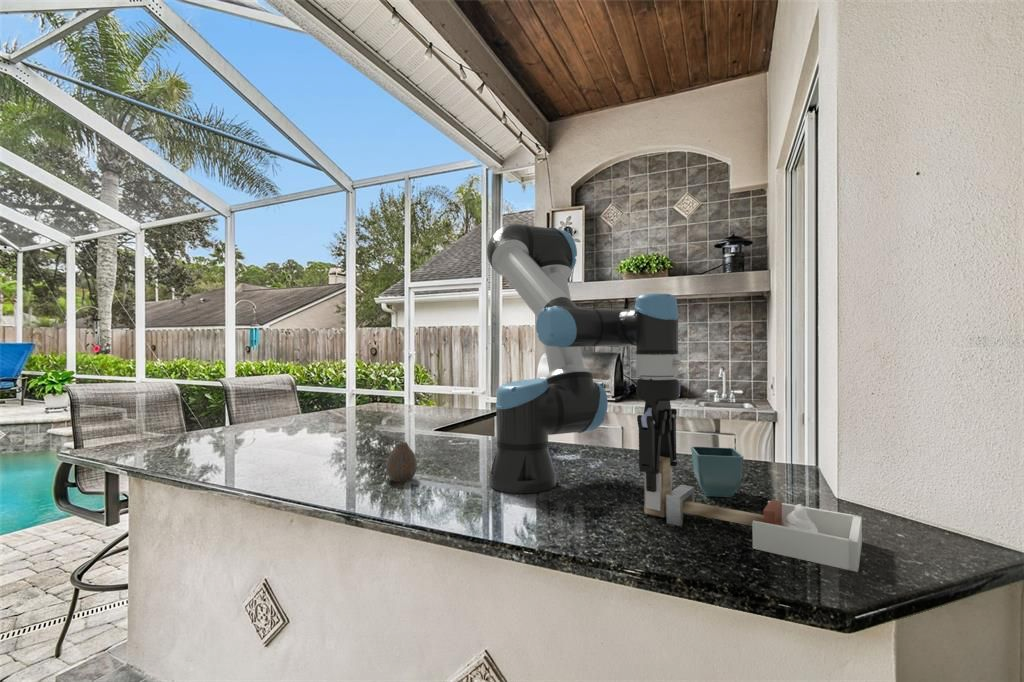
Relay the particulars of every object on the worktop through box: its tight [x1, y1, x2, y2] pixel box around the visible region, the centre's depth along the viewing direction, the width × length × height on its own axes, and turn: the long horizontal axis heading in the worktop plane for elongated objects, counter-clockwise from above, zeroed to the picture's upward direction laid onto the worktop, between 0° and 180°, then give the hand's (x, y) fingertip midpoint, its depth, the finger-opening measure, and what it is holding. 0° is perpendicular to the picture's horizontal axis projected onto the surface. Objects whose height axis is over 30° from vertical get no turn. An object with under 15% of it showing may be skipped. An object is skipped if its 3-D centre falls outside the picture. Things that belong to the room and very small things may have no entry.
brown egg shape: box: [386, 441, 418, 483], centre depth 114 cm, size 7×7×9 cm
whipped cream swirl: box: [781, 503, 819, 533], centre depth 75 cm, size 6×6×6 cm
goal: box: [751, 500, 863, 573], centre depth 74 cm, size 13×13×4 cm
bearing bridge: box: [666, 484, 695, 527], centre depth 86 cm, size 2×8×5 cm, turn 142°
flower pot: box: [690, 446, 745, 498], centre depth 101 cm, size 9×9×9 cm
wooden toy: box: [643, 456, 783, 527], centre depth 83 cm, size 22×6×10 cm, turn 52°
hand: (659, 504), depth 89 cm, fingers open, 5 cm apart
